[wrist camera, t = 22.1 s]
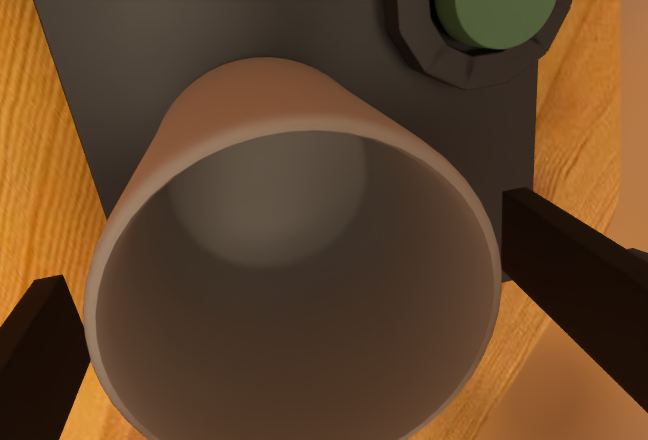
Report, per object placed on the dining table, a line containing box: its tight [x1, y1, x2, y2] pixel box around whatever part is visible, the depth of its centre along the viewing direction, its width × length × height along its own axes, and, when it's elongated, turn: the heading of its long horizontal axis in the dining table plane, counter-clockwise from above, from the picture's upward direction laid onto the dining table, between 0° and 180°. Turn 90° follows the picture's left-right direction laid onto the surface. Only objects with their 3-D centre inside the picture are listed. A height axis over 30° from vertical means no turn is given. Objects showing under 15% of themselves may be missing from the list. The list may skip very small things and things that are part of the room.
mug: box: [83, 57, 502, 440], centre depth 16 cm, size 12×8×11 cm
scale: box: [33, 0, 572, 283], centre depth 20 cm, size 18×16×4 cm
